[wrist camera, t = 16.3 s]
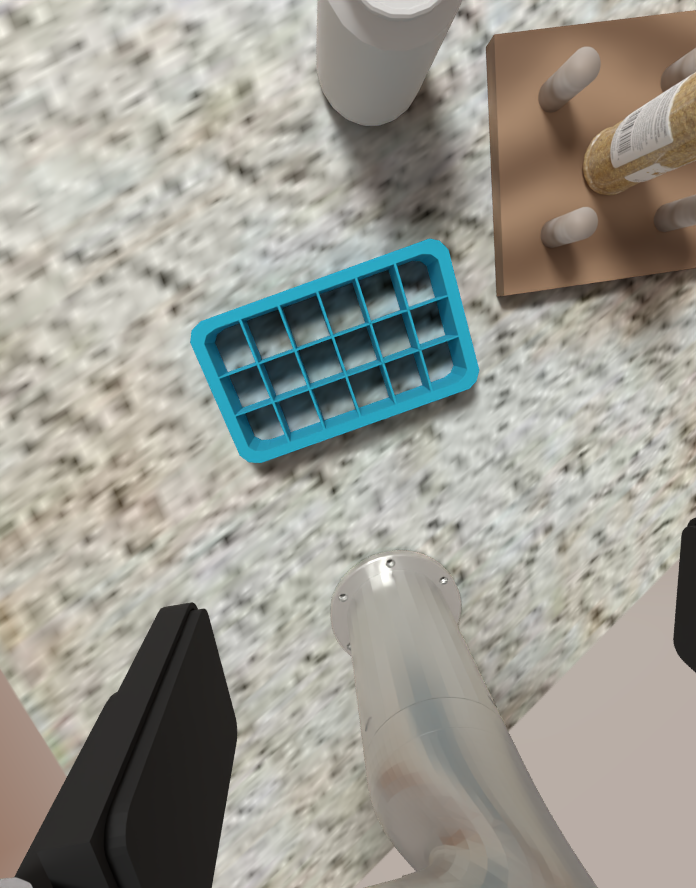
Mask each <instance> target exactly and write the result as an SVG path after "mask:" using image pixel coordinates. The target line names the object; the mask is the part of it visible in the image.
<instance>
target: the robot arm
mask: <svg viewBox="0 0 696 888" xmlns="http://www.w3.org/2000/svg"><path fill="white" fill-rule="evenodd" d="M389 559H391V560H389ZM388 560H389V561H388ZM330 614H331V624H332V630H333V632H334V635H335V637H336V639H337V641H338V642H339V644H340V645H341V647H342V648H343V649H344V650H345V651H346V652H347V653H348V654H349V655H350V656H352V663H353V671H354V679H355V687H356V695H357V703H358V711H359V719H360V727H361V736H362V744H363V752H364V760H365V768H366V775H367V783H368V789H369V794H370V798H371V802H372V805H373V808H374V811H375V813H376V816H377V818H378V820H379V822H380V824H381V826H382V828H383V830H384V832H385V833H386V835H387V836H388V838H389V839H390V841H391V842H392V843H393V845H394V846H395V848H396V849H397V850H398V851H399V853H400V854H401V855H402V856H403V857H404V858H405V859H406V861H407V862H408V863H409V864H410V865H411V866H412V867H413V868H414V870H416V872H414V873H411V874H408V875H404V876H402V878H399V879H396V880H392V881H388V882H384V883H380V884H377V885H373V886H369V887H365V888H598V887H597V886H596V884H595V883H594V881H593V880H592V878H591V877H590V875H589V874H588V873H587V871H586V869H585V868H584V866H583V865H582V863H581V862H580V860H579V859H578V857H577V856H576V854H575V853H574V851H573V850H572V848H571V847H570V845H569V843H568V842H567V840H566V839H565V837H564V835H563V834H562V832H561V830H560V829H559V827H558V826H557V824H556V822H555V820H554V819H553V817H552V815H551V814H550V812H549V810H548V808H547V807H546V805H545V803H544V801H543V799H542V797H541V796H540V794H539V792H538V790H537V788H536V786H535V785H534V783H533V781H532V779H531V777H530V775H529V773H528V771H527V769H526V767H525V765H524V763H523V761H522V759H521V757H520V755H519V753H518V751H517V749H516V746H515V744H514V742H513V740H512V738H511V736H510V734H509V732H508V730H507V728H506V726H505V724H504V722H503V720H502V718H501V715H500V713H499V711H498V709H497V707H496V705H495V703H494V701H493V699H492V697H491V695H490V692H489V690H488V688H487V686H486V684H485V682H484V680H483V678H482V676H481V674H480V672H479V669H478V667H477V665H476V663H475V661H474V659H473V657H472V655H471V653H470V651H469V649H468V646H467V644H466V642H465V640H464V638H463V636H462V634H461V632H460V630H459V628H458V626H457V625H458V623H459V619H460V615H461V599H460V594H459V590H458V588H457V586H456V584H455V581H454V580H453V578H452V576H451V575H450V573H449V572H448V571H447V570H446V569H445V568H444V567H443V565H441V564H440V563H439V562H437V561H436V560H434V559H433V558H431V557H429V556H426V555H424V554H422V553H418V552H414V551H407V550H394V551H385V552H382V553H378V554H375V555H372V556H370V557H368V558H366V559H364V560H362V561H360V562H359V563H357V564H356V565H355V566H353V567H352V568H351V569H350V570H349V571H348V572H347V573H346V574H345V575H344V576H343V577H342V579H341V580H340V582H339V583H338V585H337V587H336V589H335V591H334V594H333V597H332V601H331V607H330ZM674 626H675V627H674V638H673V640H674V646H675V649H676V651H677V653H678V655H679V656H680V658H681V659H682V660H683V661H684V662H685V663H686V664H687V665H688V666H689V667H690V668H691V669H693V671H695V672H696V518H694V519H692V520H690V522H689V523H688V525H687V527H686V528H685V529H684V530H683V532H682V536H681V549H680V562H679V575H678V588H677V600H676V613H675V625H674ZM236 742H237V722H236V717H235V713H234V710H233V706H232V702H231V698H230V694H229V691H228V687H227V683H226V679H225V676H224V672H223V668H222V664H221V661H220V657H219V653H218V649H217V645H216V642H215V638H214V634H213V630H212V627H211V623H210V619H209V615H208V613H207V611H206V609H198V608H197V606H196V605H195V603H193V602H192V603H186V604H180V605H174V606H168V607H163V608H161V609H160V611H159V612H158V614H157V616H156V618H155V620H154V622H153V624H152V626H151V628H150V630H149V632H148V634H147V636H146V637H145V639H144V641H143V643H142V645H141V647H140V649H139V651H138V653H137V655H136V657H135V659H134V661H133V663H132V665H131V667H130V669H129V671H128V673H127V675H126V677H125V679H124V681H123V682H122V684H121V686H120V688H119V690H118V692H116V693H115V694H113V695H112V696H111V697H110V698H109V700H108V701H107V703H106V704H105V706H104V708H103V710H102V712H101V713H100V715H99V717H98V719H97V721H96V723H95V725H94V727H93V729H92V731H91V732H90V734H89V736H88V738H87V740H86V742H85V744H84V746H83V748H82V750H81V751H80V753H79V755H78V757H77V759H76V761H75V763H74V765H73V767H72V769H71V770H70V772H69V774H68V776H67V778H66V780H65V782H64V784H63V786H62V787H61V789H60V791H59V793H58V795H57V797H56V799H55V801H54V803H53V805H52V807H51V808H50V810H49V812H48V814H47V816H46V818H45V820H44V822H43V824H42V825H41V828H40V829H39V832H38V833H37V835H36V837H35V839H34V841H33V843H32V844H31V846H30V848H29V850H28V852H27V854H26V856H25V858H24V860H23V862H22V863H21V865H20V867H19V869H18V871H17V873H16V875H15V877H14V878H4V879H0V888H212V882H213V877H214V871H215V865H216V859H217V853H218V848H219V842H220V836H221V830H222V824H223V818H224V813H225V807H226V801H227V795H228V789H229V783H230V778H231V772H232V766H233V760H234V754H235V748H236Z"/></svg>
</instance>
